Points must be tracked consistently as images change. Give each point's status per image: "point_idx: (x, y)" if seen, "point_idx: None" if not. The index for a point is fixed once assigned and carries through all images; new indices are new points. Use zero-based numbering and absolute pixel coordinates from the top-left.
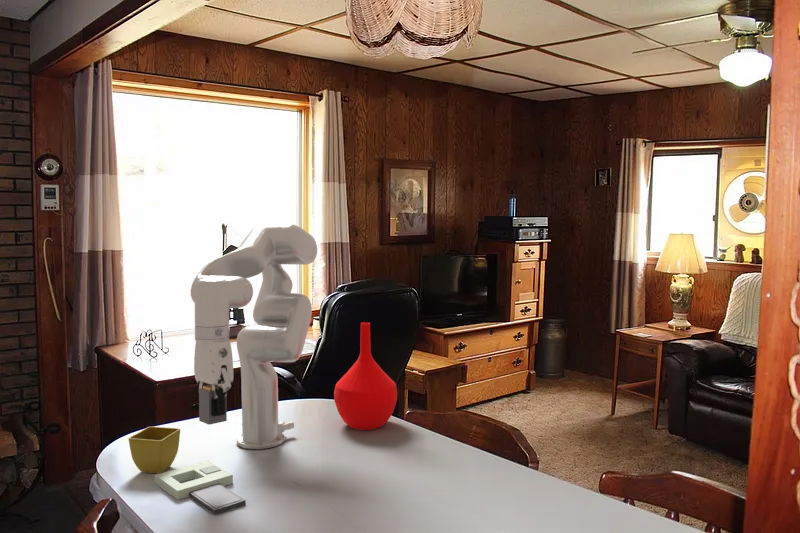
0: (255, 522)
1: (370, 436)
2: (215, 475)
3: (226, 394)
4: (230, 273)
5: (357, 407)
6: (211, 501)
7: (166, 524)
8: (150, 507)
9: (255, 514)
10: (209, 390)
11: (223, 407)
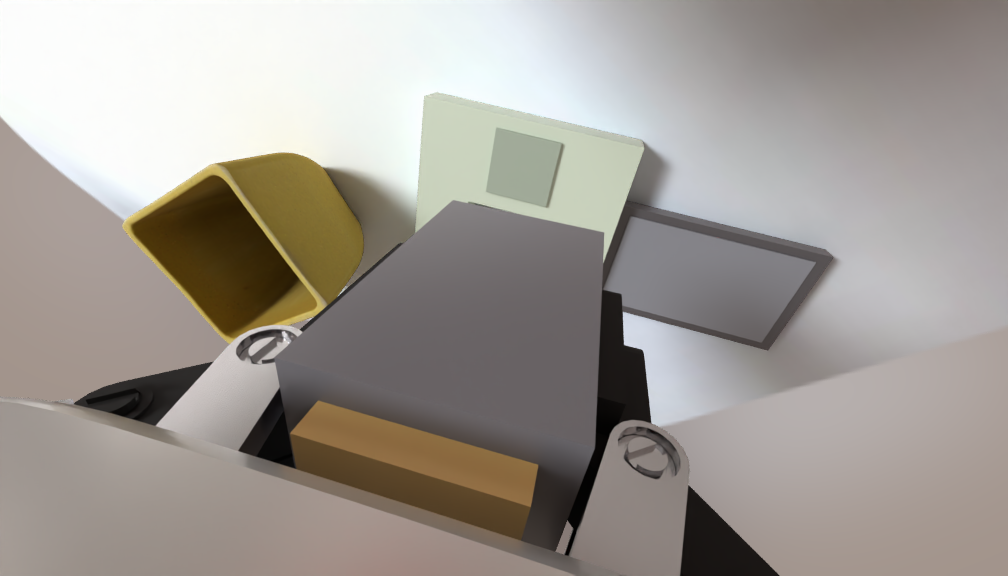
0: (945, 322)
1: None
2: (584, 193)
3: (687, 469)
4: None
5: None
6: (715, 318)
7: (670, 416)
8: None
9: (912, 283)
10: None
11: (642, 369)
